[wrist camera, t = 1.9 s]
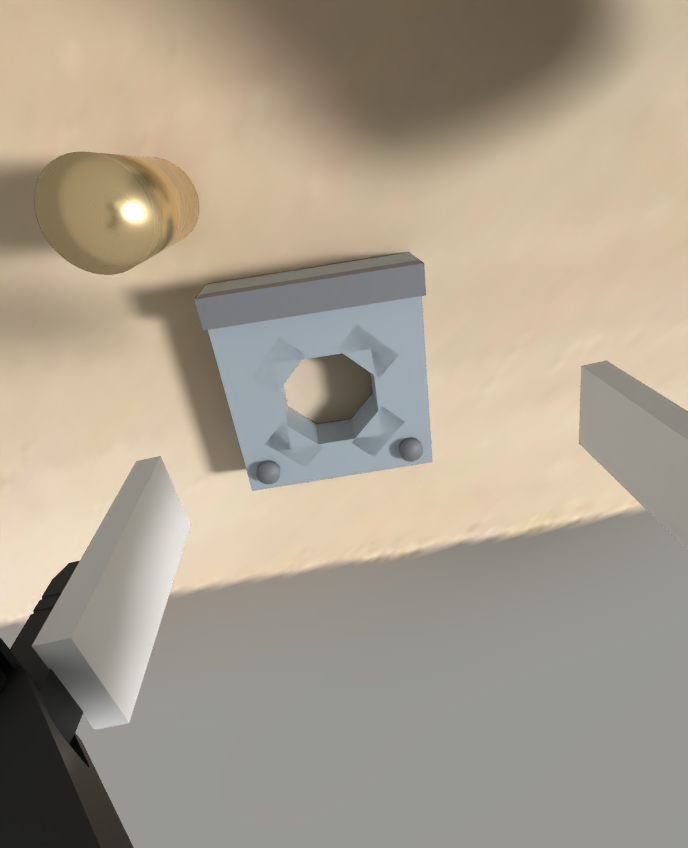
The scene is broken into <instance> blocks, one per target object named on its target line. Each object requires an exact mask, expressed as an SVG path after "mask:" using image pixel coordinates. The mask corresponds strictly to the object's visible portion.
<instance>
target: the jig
mask: <svg viewBox="0 0 688 848" xmlns="http://www.w3.org/2000/svg"><path fill="white" fill-rule="evenodd" d="M425 295H426V288H425V271H424V263H423V262H422V261H420V260H419V259H418V258H416V257H415V256H414V255H412V254H411V253H410V252H407V253H401V254H394V255H388V256H382V257H375V258H369V259H363V260H356V261H350V262H344V263H338V264H331V265H325V266H319V267H312V268H306V269H300V270H293V271H287V272H281V273H274V274H268V275H262V276H255V277H249V278H243V279H236V280H230V281H224V282H218V283H211V284H207V285H206V286H205V287H204V288H203V289H202V291H201V292H200V293H199V294H198V295H197V297H196V298H195V299H194V301H195V305H196V308H197V312H198V315H199V319H200V323H201V326H202V330H203V331H204V330H208V333H209V336H210V340H211V343H212V347H213V351H214V354H215V358H216V361H217V365H218V369H219V372H220V376H221V380H222V383H223V387H224V390H225V394H226V398H227V401H228V405H229V408H230V412H231V416H232V419H233V423H234V426H235V430H236V434H237V437H238V441H239V445H240V448H241V452H242V455H243V459H244V463H245V466H246V470H247V473H248V477H249V481H250V484H251V488H252V491H254V490H261V489H267V488H273V487H279V486H286V485H292V484H298V483H304V482H311V481H317V480H323V479H329V478H336V477H342V476H348V475H354V474H361V473H367V472H373V471H379V470H386V469H392V468H398V467H404V466H410V465H417V464H423V463H429V462H432V448H431V432H430V417H429V401H428V385H427V370H426V354H425V339H424V323H423V308H422V296H425ZM341 353H343V354H344V355H346V356H347V357H348V358H350V359H351V360H353V361H354V362H356V363H357V364H359V365H360V366H361V367H363V368H364V369H366V370H367V371H369V372H370V375H371V384H372V392H373V393H372V394H371V395H370V397H369V398H368V399H367V400H366V401H365V403H364V404H363V405H362V406H361V408H360V409H359V410H358V411H357V412H356V414H355V415H354V416H353V417H352V418H351V419H347V420H341V421H335V422H328V423H322V424H315V423H314V422H312V421H311V420H309V419H307V418H306V417H304V416H303V415H301V414H299V413H298V412H296V411H295V410H293V409H291V408H290V407H288V405H287V400H286V395H285V391H284V386H283V385H284V383H285V382H286V381H287V379H288V378H289V377H290V375H291V374H292V373H293V371H294V370H295V368H296V367H297V366H298V364H299V363H300V362H301V360H304V359H310V358H316V357H323V356H329V355H335V354H341Z"/></svg>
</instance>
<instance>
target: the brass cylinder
mask: <svg viewBox="0 0 688 848" xmlns="http://www.w3.org/2000/svg"><path fill="white" fill-rule="evenodd" d="M34 203H35V211H36V216H37V220H38V223H39V225H40V228H41V230H42V232H43V234H44V235H45V237H46V239H47V240H48V242H49V243H50V244H51V246H52V247H53V248H54V249H55V250H56V251H57V252H58V253H59V254H60V255H61V256H62V257H63V258H64V259H66V260H67V261H68V262H70V263H71V264H73V265H75V266H77V267H78V268H80V269H83V270H85V271H88V272H92V273H96V274H104V275H111V274H118V273H122V272H125V271H128V270H130V269H131V268H133V267H135V266H137V265H138V264H140V263H142V262H144V261H145V260H147V259H149V258H150V257H152V256H154V255H156V254H157V253H159V252H161V251H163V250H164V249H166V248H168V247H169V246H171V245H173V244H175V243H176V242H178V241H180V240H182V239H183V238H185V237H186V236H187V235H188V234H189V233H190V232H191V231H192V230H193V228H194V226H195V224H196V222H197V219H198V214H199V201H198V196H197V193H196V190H195V187H194V185H193V184H192V182H191V180H190V179H189V177H188V176H187V175H186V174H185V173H184V172H183V171H182V170H181V169H180V168H179V167H177V166H176V165H174V164H173V163H171V162H169V161H166V160H164V159H159V158H151V157H140V156H128V155H116V154H104V153H93V152H72V153H68V154H65V155H62V156H60V157H58V158H56V159H55V160H53V161H52V162H51V163H50V164H49V165H47V166H46V168H45V169H44V170H43V172H42V173H41V175H40V177H39V179H38V182H37V185H36V189H35V198H34Z"/></svg>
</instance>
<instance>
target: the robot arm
mask: <svg viewBox="0 0 688 848" xmlns="http://www.w3.org/2000/svg"><path fill="white" fill-rule="evenodd" d="M579 444H580V445H581V446H582V447H583V448H584V449H585V450H586V451H587V452H588V453H589V454H590V455H591V456H592V457H593V458H594V459H595V460H596V461H597V462H599V463H600V464H601V465H602V466H603V467H604V468H605V469H606V470H607V471H608V472H609V473H610V474H611V475H612V476H613V477H614V478H615V479H616V480H617V481H618V482H619V483H620V484H621V485H622V486H623V487H624V488H625V489H626V490H627V491H628V492H629V493H630V494H631V495H632V496H633V497H634V498H635V499H636V500H637V501H638V502H639V503H640V504H641V505H642V506H643V507H644V508H645V509H646V510H647V511H648V512H649V513H650V514H651V515H653V516H654V518H656V519H657V520H658V521H659V522H660V523H661V524H662V525H663V526H664V527H665V528H666V529H667V530H668V531H669V532H670V533H671V534H672V535H673V536H674V537H675V538H676V539H677V540H678V541H679V542H680V543H681V544H682V545H683V546H684V547H685V548H686V549H687V550H688V411H686V410H685V409H683V408H682V407H680V406H678V405H677V404H675V403H674V402H672V401H670V400H669V399H667V398H665V397H664V396H662V395H661V394H659V393H657V392H656V391H654V390H653V389H651V388H649V387H648V386H646V385H645V384H643V383H641V382H640V381H638V380H637V379H635V378H633V377H632V376H630V375H629V374H627V373H625V372H624V371H622V370H621V369H619V368H617V367H616V366H614V365H613V364H611V363H609V362H608V361H603V362H598V363H593V364H589V365H584V366H581V392H580V423H579ZM190 526H191V524H190V522H189V519H188V517H187V515H186V513H185V510H184V508H183V506H182V504H181V501H180V499H179V497H178V495H177V492H176V490H175V488H174V486H173V483H172V481H171V479H170V477H169V474H168V472H167V470H166V467H165V465H164V463H163V461H162V458H161V456H159V457H154V458H149V459H145V460H140V461H136V463H135V465H134V466H133V468H132V470H131V472H130V473H129V475H128V477H127V479H126V480H125V482H124V484H123V486H122V488H121V489H120V491H119V493H118V495H117V496H116V498H115V500H114V502H113V503H112V505H111V507H110V509H109V510H108V512H107V514H106V516H105V518H104V519H103V521H102V523H101V525H100V526H99V528H98V530H97V532H96V533H95V535H94V537H93V539H92V540H91V542H90V544H89V546H88V548H87V549H86V551H85V553H84V555H83V556H82V558H81V560H80V561H77V562H72V563H69V564H68V565H67V566H66V567H65V568H64V569H63V570H62V571H61V572H60V573H59V574H57V575H56V576H55V577H54V578H53V579H52V581H51V583H50V584H49V586H48V587H47V589H46V591H45V592H44V594H43V596H42V600H40V601H39V602H38V604H37V606H36V607H35V609H34V610H33V611H34V614H31V615H30V617H29V619H28V620H27V622H26V624H25V625H24V627H23V629H22V630H21V632H20V634H19V635H18V637H17V638H16V640H15V642H14V643H13V645H12V647H11V649H9V648H8V647H7V645H6V644H5V643H4V642H3V640H2V639H1V638H0V848H133V846H132V844H131V841H130V839H129V837H128V835H127V833H126V831H125V829H124V827H123V825H122V823H121V821H120V819H119V817H118V815H117V813H116V811H115V809H114V807H113V804H112V802H111V800H110V798H109V796H108V794H107V792H106V790H105V788H104V786H103V784H102V782H101V780H100V778H99V776H98V774H97V772H96V769H95V767H94V765H93V763H92V761H91V759H90V757H89V755H88V753H87V751H86V749H85V747H84V745H83V743H82V741H81V740H80V738H79V737H78V736H77V734H76V733H75V731H76V729H77V726H78V724H79V722H80V719H81V716H82V714H83V715H84V716H85V718H86V719H87V720H88V722H89V723H90V724H91V726H92V727H93V728H94V730H97V729H102V728H106V727H112V726H117V725H122V724H126V723H129V722H130V719H131V715H132V712H133V709H134V706H135V702H136V699H137V696H138V693H139V690H140V687H141V683H142V680H143V677H144V674H145V670H146V667H147V664H148V660H149V658H150V655H151V651H152V648H153V645H154V641H155V638H156V635H157V632H158V629H159V626H160V622H161V619H162V616H163V613H164V610H165V606H166V603H167V600H168V597H169V593H170V590H171V587H172V584H173V581H174V577H175V574H176V571H177V568H178V565H179V561H180V558H181V555H182V552H183V549H184V545H185V542H186V539H187V536H188V532H189V529H190Z"/></svg>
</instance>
